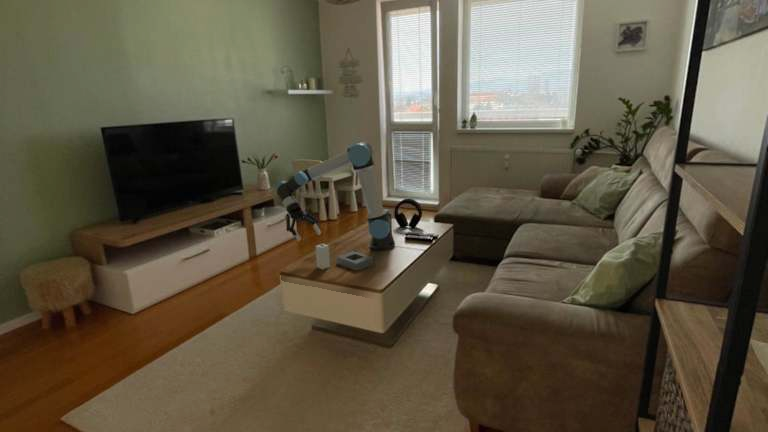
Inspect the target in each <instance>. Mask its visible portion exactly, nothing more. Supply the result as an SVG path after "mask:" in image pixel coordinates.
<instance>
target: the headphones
mask: <svg viewBox="0 0 768 432" xmlns="http://www.w3.org/2000/svg"><path fill="white" fill-rule="evenodd" d="M405 204H406V205H407V204H408V205H412V206H414V207H415V209H416V211H417V213H415V212H414V213H413V215H412V217H411V219H410V220H409V222H408V220H407V217H406V215H405V213H403V212H400V213H399V209H400V206H403V205H405ZM393 215H394V219H395V221H396V223H397V225H398V226H399V228H406V227H410V228H412V229H415V228H416V227H417V225H419V223H420V221H421V219H422V217H423V209H422V207H421V205H420V204H419V202H418V201H416V200H415V199H413V198H404V199H402V200H401V201H399V202H398V203H397V205H396V206H395V208H394V210H393Z"/></svg>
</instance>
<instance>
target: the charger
mask: <svg viewBox="0 0 768 432" xmlns="http://www.w3.org/2000/svg"><path fill="white" fill-rule="evenodd" d="M315 256H316V257H315V259H316V268H318V269H320V270H325V269H329V268H331V261H330V245H328V244H326V243H320V244H318V245H315Z"/></svg>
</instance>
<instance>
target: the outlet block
mask: <svg viewBox="0 0 768 432" xmlns="http://www.w3.org/2000/svg"><path fill="white" fill-rule="evenodd" d="M336 264H337V265H340V266H342V267H346V268H348V269H351V270H353V271H356V272H358V271H360V270H363V269H366V268H368V267H371V266H373V265H374V257H372V256H371V255H367V254H363V253H360V252H357V251H354V250H352V251H349V252H346V253H343V254H340V255H337V256H336Z"/></svg>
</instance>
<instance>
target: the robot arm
mask: <svg viewBox="0 0 768 432" xmlns="http://www.w3.org/2000/svg"><path fill="white" fill-rule="evenodd" d="M349 165H352V169H353V171H354V172H356V173H357V174H356V175H357V176H358V177H357V178H358V180H359V185H360V187H361V191H362V195H363V199H364V202H365V206H366V209H367V214H366V215H367V216H366V219H367V223H368V232H369V234H370V236H371V238H370V243H369V247H370V249H372V250H375V251H389V250H392V249H394V248H395V247H396V242H395V239H394V236H393V232H392V231H393V226H392V225H393V223H392V221H393V220H392V215H393V213H392V210H391V209H389V208H383V204H382V200H381V197H380V192H379V188H378V185H377V182H376V177H375V174H374V171H373V168H374V166H375V163H374V158H373V148H372V146H371V144H369V143H368V142H366V141H359V142H356V143H354V144H352V146H350V147H348V148H347V149H346V151H343V152H341V153H340V154H337V155H334V156H333V157H330V158H328V159H326V160H324V161H321V162H319V163H317V164H315V165H313V166H310V167H308V168H307V169H304V170H299V171H297V172H296V173H294V175H292V177H290V178H288V180H287V181H285V180H280V181H279V182H277V183H275V185H274V190H275V192H276V195H277V196H278V198H279V200H280V201H281V203H282V206H284V209H285V210H286V211H287V213H286V214H285V217H284V218H285V221H286V222H285V223H286V224H285V225H286V229H285V230H286V232H289V233H291V234H292V236H293V237H295V239H296V241H297V242H300V240H301V239H302V238H301V236H300V234H299V232H298V231H297V229H296V228H295V225H296V222H298V221H302V220H303V221H306V222H307V223H309V224H311V225H312V227H313V229H314V230H315V232H316V234H317V235H318V236H320V235H321V234H322V232H321V230H320V226H319V224H318V223H319V221H320V220H319V219H318V218H316V216H314V215H313V214H312V213H310V212H309V210H308V209H305V210H302V207H301V206H300V203H299V202H298V200H297V199H296V196H295V195H294V193H297V191H298V190H300V188H302V187H303V186H305V185H306V184H308V183H310V182H313V181H314V180H317V179H319V178H322V177H324V176H326V175H328V174H331V173H333V172H336V171H338V170H340V169H343V168H345V167H347V166H349ZM291 219H292V221H291Z"/></svg>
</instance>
